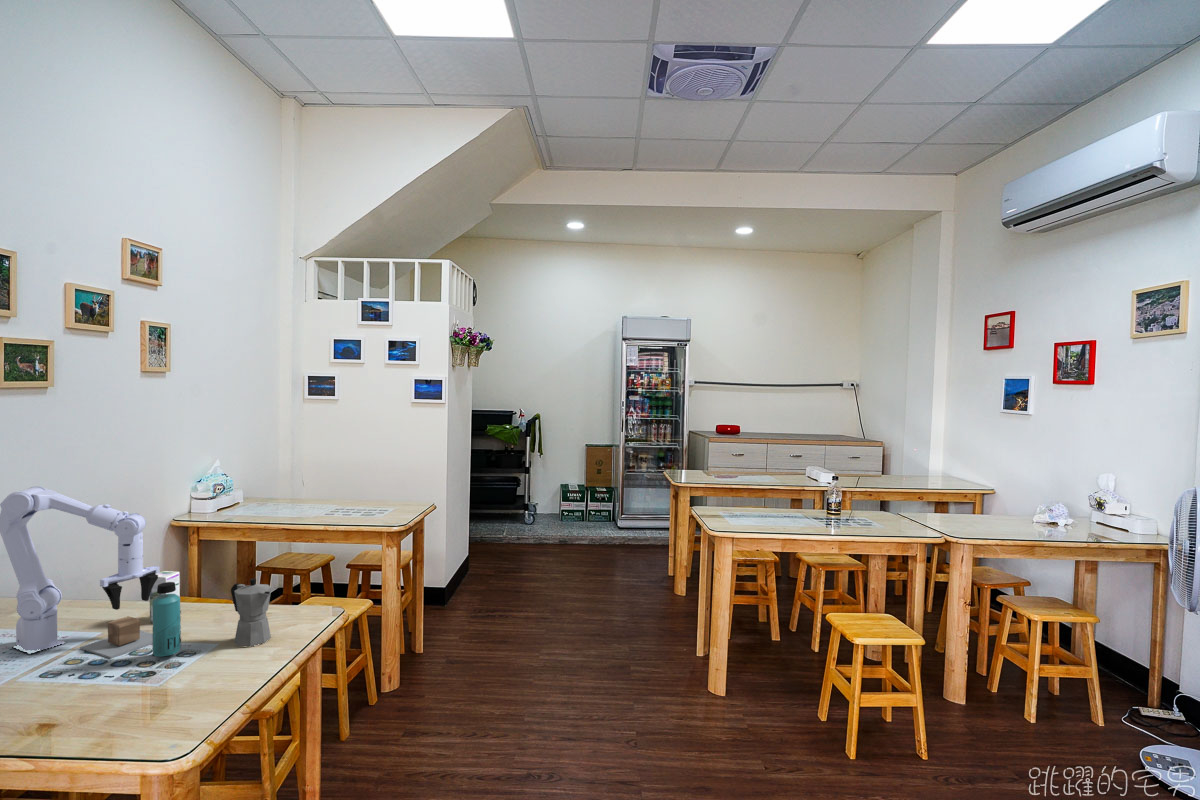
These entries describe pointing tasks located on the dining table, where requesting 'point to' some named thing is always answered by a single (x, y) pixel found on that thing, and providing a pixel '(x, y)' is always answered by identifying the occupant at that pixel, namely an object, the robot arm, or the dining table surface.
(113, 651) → the flat grey base plate
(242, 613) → the coffeepot
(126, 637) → the brown shipping carton
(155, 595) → the syrup box
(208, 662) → the dining table surface
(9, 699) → the dining table surface
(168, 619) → the beverage bottle
